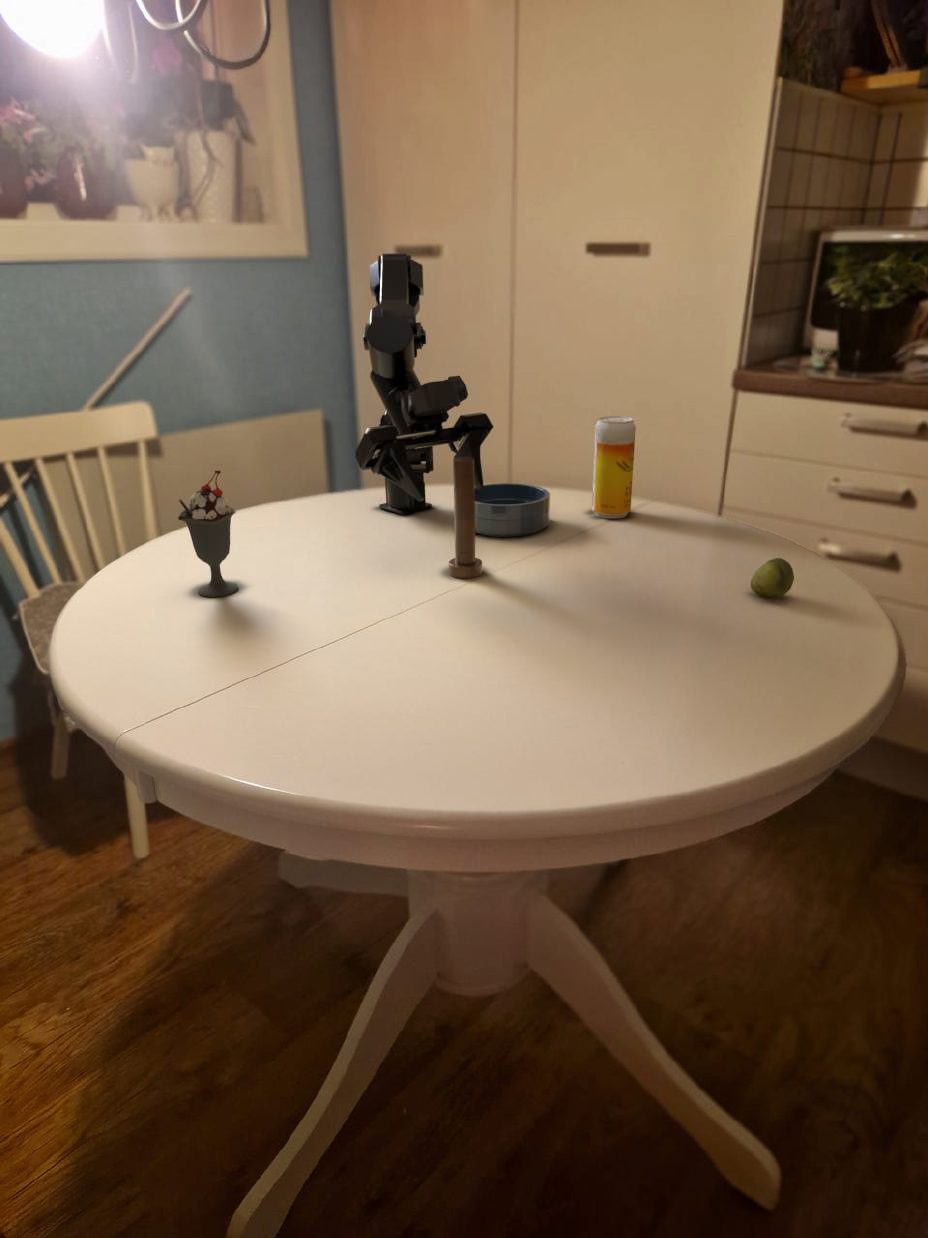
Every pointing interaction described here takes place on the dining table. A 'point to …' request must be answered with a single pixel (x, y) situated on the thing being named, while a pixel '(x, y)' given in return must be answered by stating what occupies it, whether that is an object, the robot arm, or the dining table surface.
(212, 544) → the sundae
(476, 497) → the bowl
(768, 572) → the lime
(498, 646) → the dining table surface
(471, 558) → the stick
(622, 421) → the beer can
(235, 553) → the dining table surface
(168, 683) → the dining table surface
